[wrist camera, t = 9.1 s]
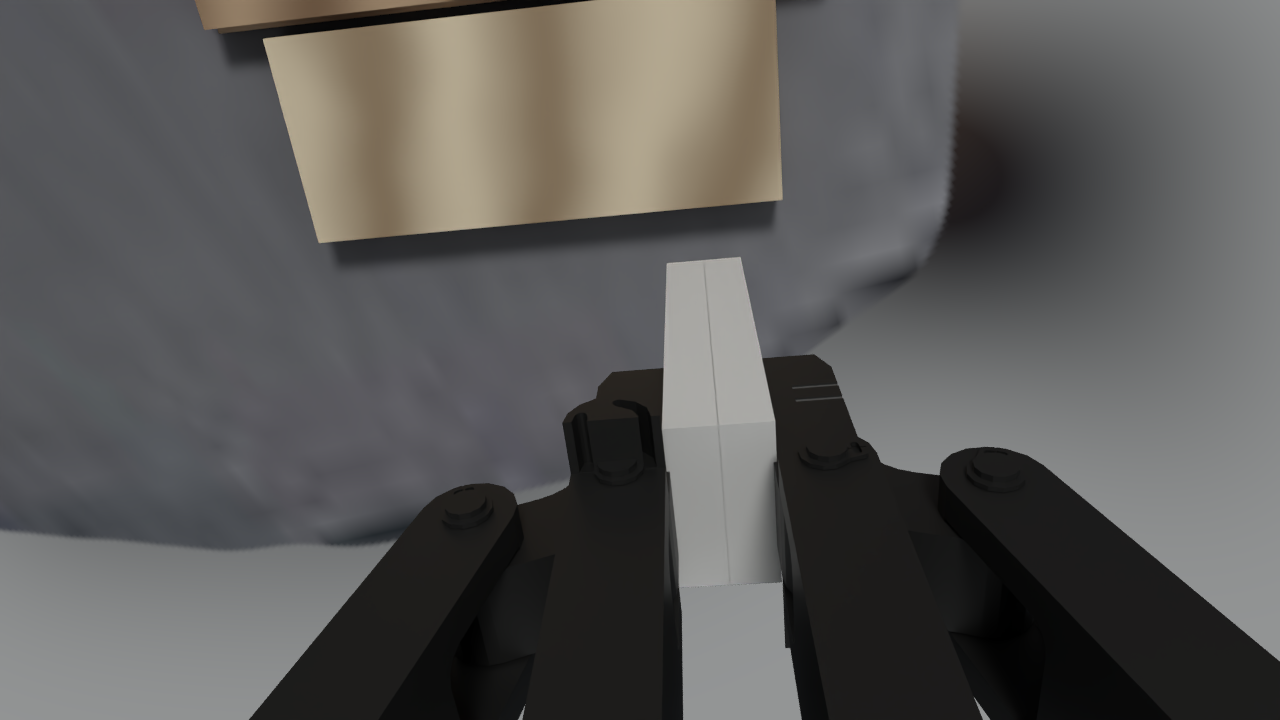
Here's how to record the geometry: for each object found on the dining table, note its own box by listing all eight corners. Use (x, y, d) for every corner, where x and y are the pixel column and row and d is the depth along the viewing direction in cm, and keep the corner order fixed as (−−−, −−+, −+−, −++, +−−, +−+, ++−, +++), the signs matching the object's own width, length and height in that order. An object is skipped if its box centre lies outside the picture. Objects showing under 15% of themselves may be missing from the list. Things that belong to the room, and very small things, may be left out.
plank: (333, 232, 34) (319, 242, 32) (281, 36, 31) (262, 38, 29) (778, 190, 32) (782, 199, 31) (770, -21, 29) (775, -21, 28)
